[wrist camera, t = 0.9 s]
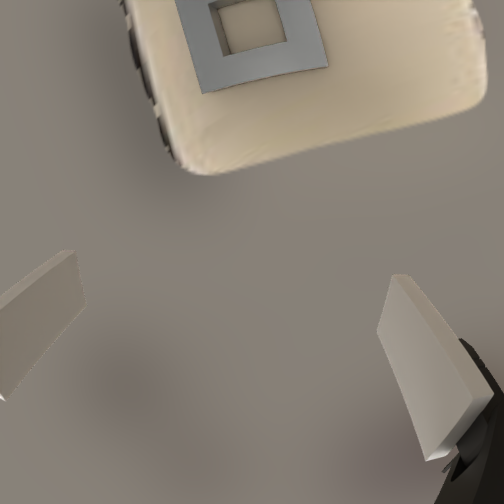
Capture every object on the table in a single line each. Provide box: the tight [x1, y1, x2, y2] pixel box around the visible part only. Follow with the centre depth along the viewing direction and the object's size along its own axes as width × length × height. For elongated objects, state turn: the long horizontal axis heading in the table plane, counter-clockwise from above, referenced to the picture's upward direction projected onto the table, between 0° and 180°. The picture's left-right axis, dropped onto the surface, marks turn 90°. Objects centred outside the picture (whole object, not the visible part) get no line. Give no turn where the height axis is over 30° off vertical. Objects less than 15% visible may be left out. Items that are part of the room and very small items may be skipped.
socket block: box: [175, 0, 328, 94], centre depth 24 cm, size 13×13×3 cm
